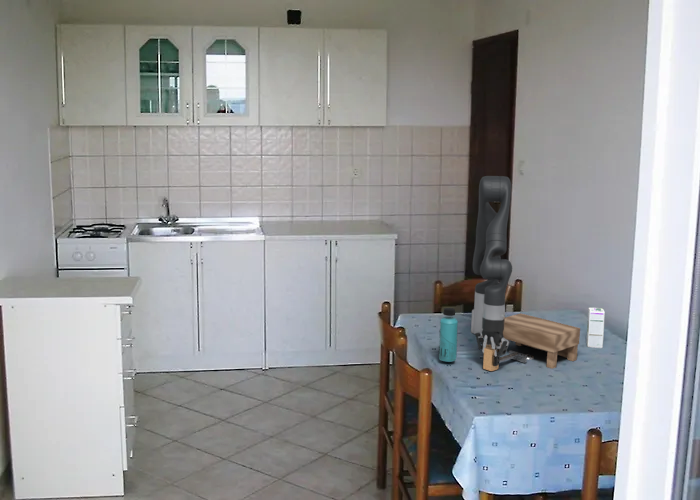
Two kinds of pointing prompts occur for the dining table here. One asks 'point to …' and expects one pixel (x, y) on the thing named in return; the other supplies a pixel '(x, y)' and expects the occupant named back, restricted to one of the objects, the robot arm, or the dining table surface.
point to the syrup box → (595, 327)
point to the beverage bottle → (448, 336)
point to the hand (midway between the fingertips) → (491, 364)
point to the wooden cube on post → (490, 354)
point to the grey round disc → (529, 357)
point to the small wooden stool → (543, 336)
